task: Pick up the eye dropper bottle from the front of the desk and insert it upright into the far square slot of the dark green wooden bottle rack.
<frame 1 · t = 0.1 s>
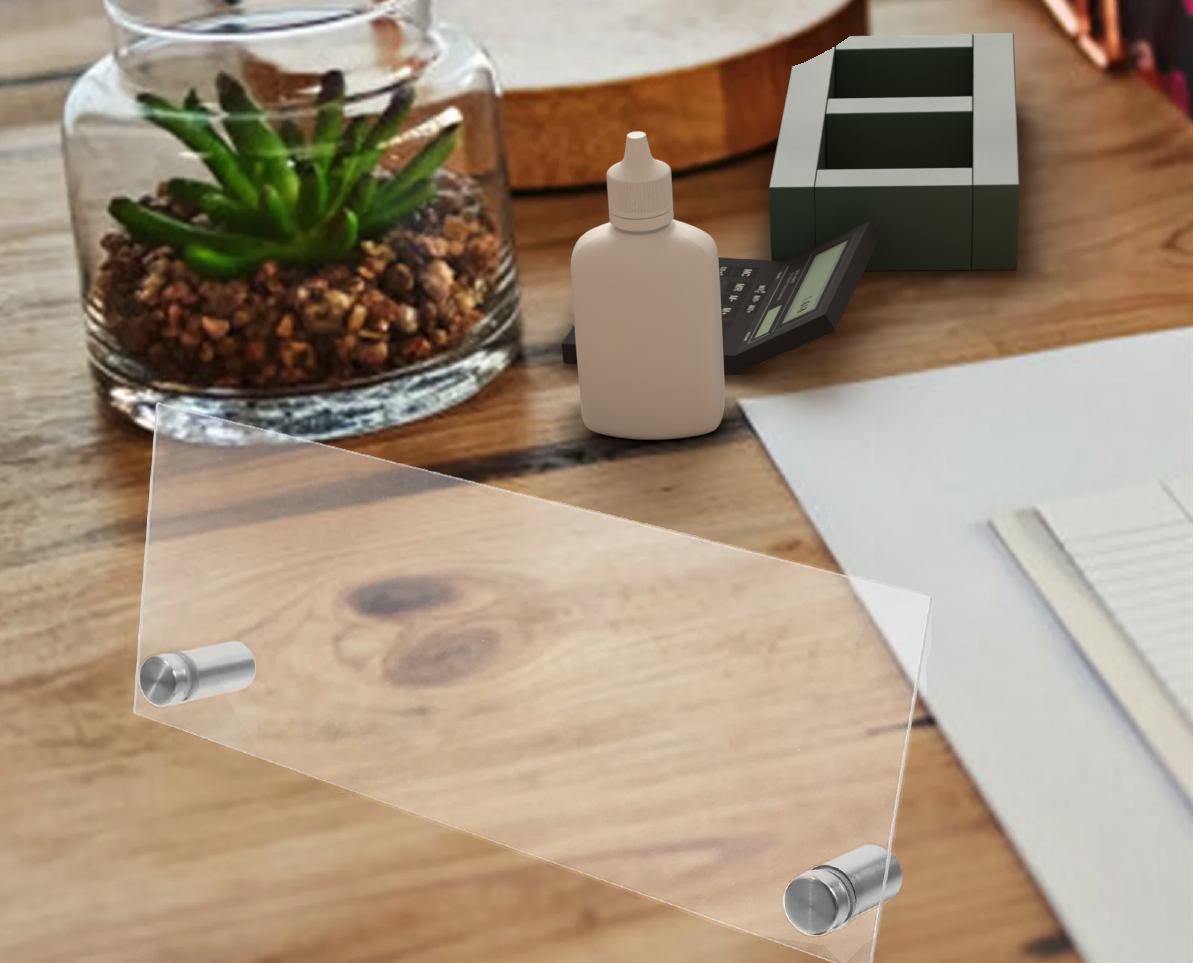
rack: (899, 184, 111), on the table
eye dropper bottle: (654, 426, 93), on the table
calculator: (725, 326, 100), on the table
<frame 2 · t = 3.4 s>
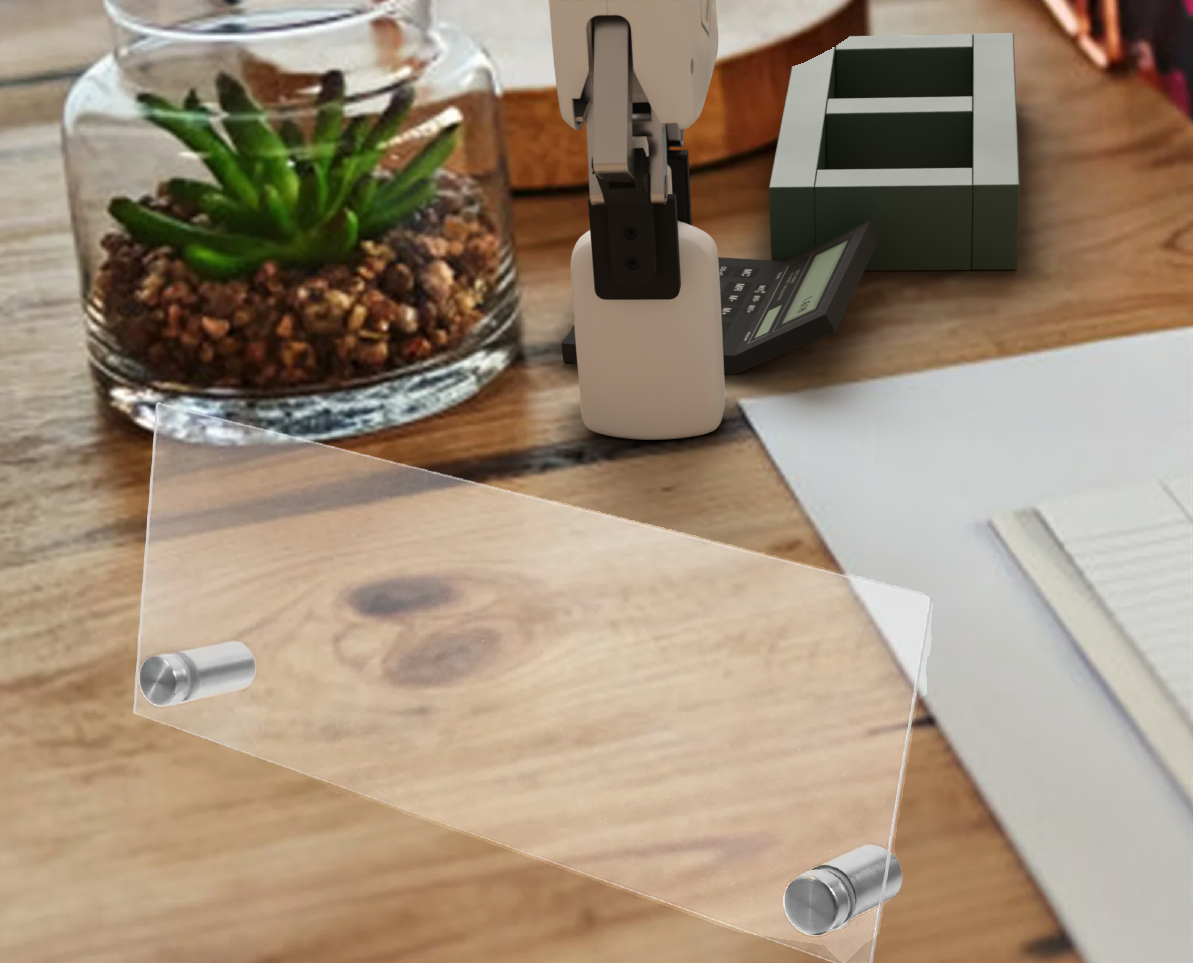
hand: (644, 268, 89), 7 cm above the table, tool pointing down, fingers closed on eye dropper bottle, 3 cm apart
eye dropper bottle: (654, 426, 93), on the table, touching gripper
everything else where it was.
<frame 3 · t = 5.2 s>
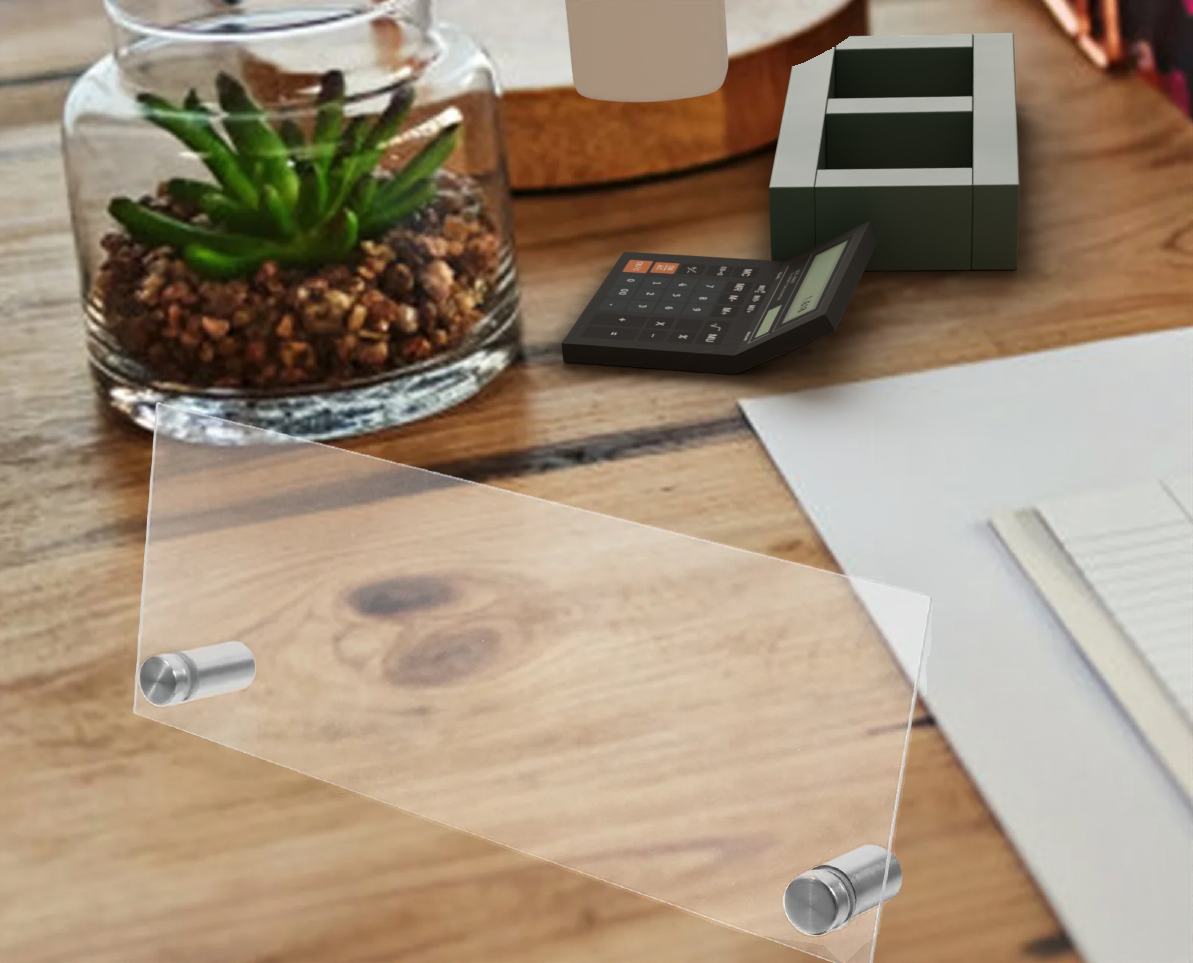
eye dropper bottle: (652, 92, 86), point 14 cm above the table, touching gripper
everything else where it was.
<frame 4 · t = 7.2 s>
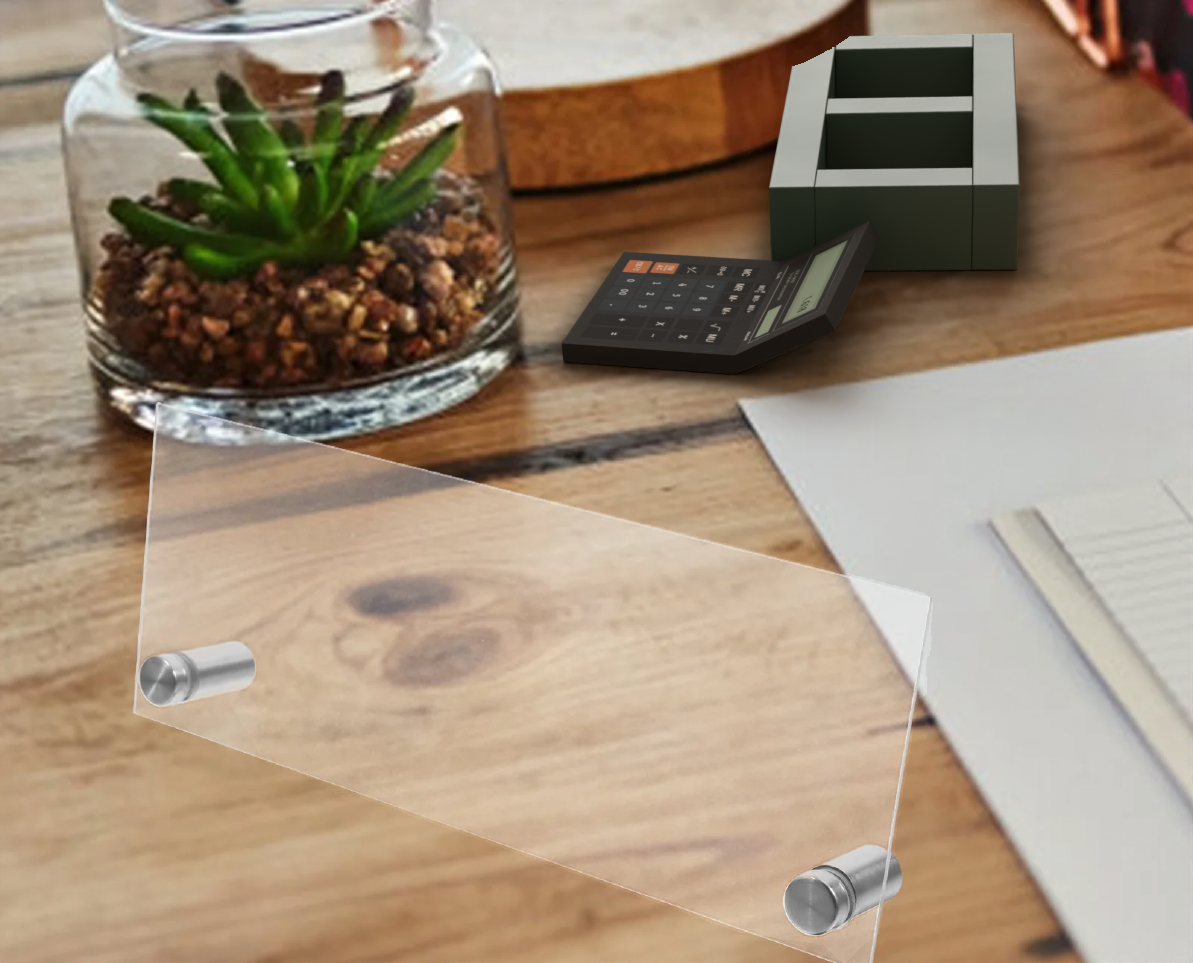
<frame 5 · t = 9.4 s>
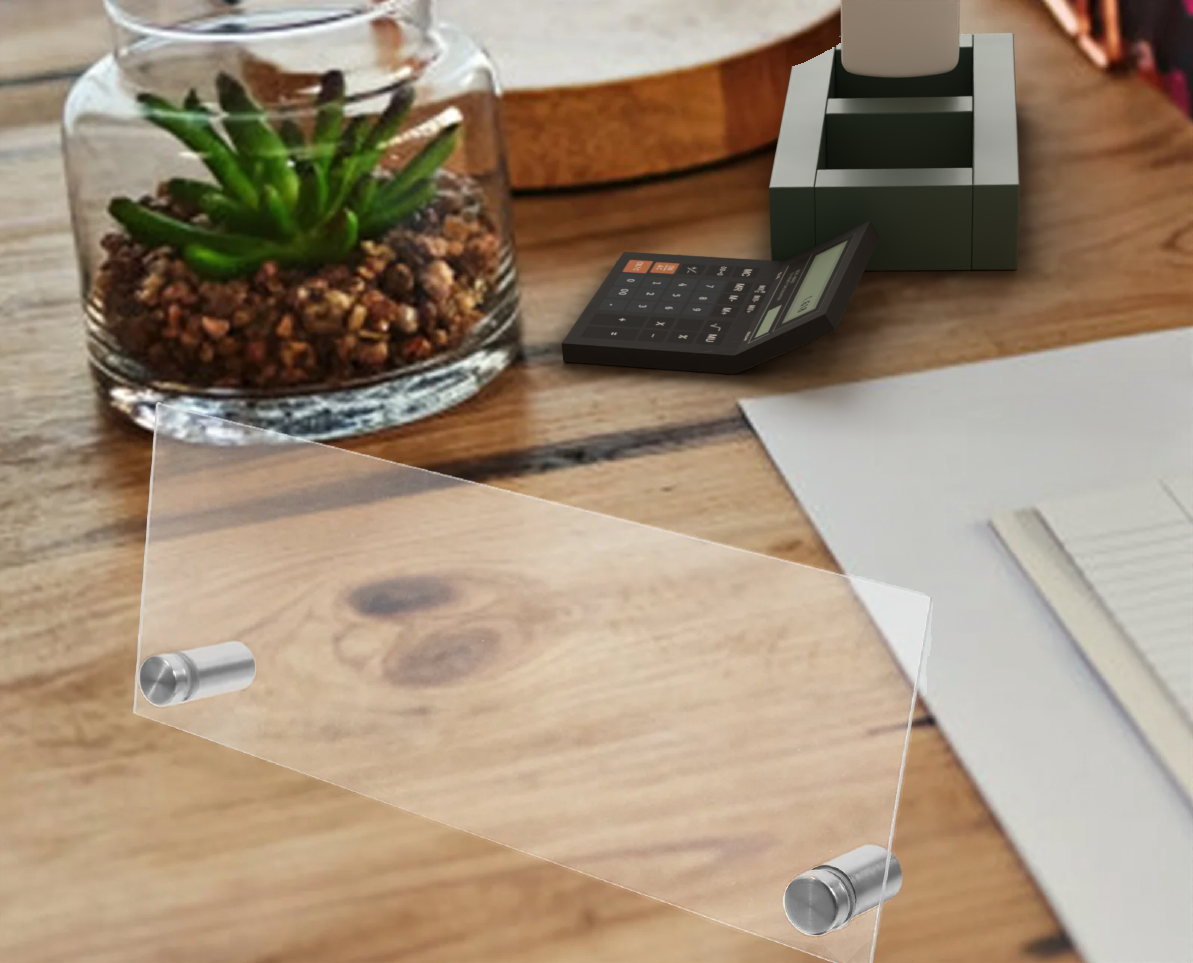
eye dropper bottle: (900, 70, 113), point 4 cm above the table, touching gripper
everything else where it was.
when the fingers open (7 cm above the table, at t = 10.9 s): eye dropper bottle stays where it is, resting in rack.
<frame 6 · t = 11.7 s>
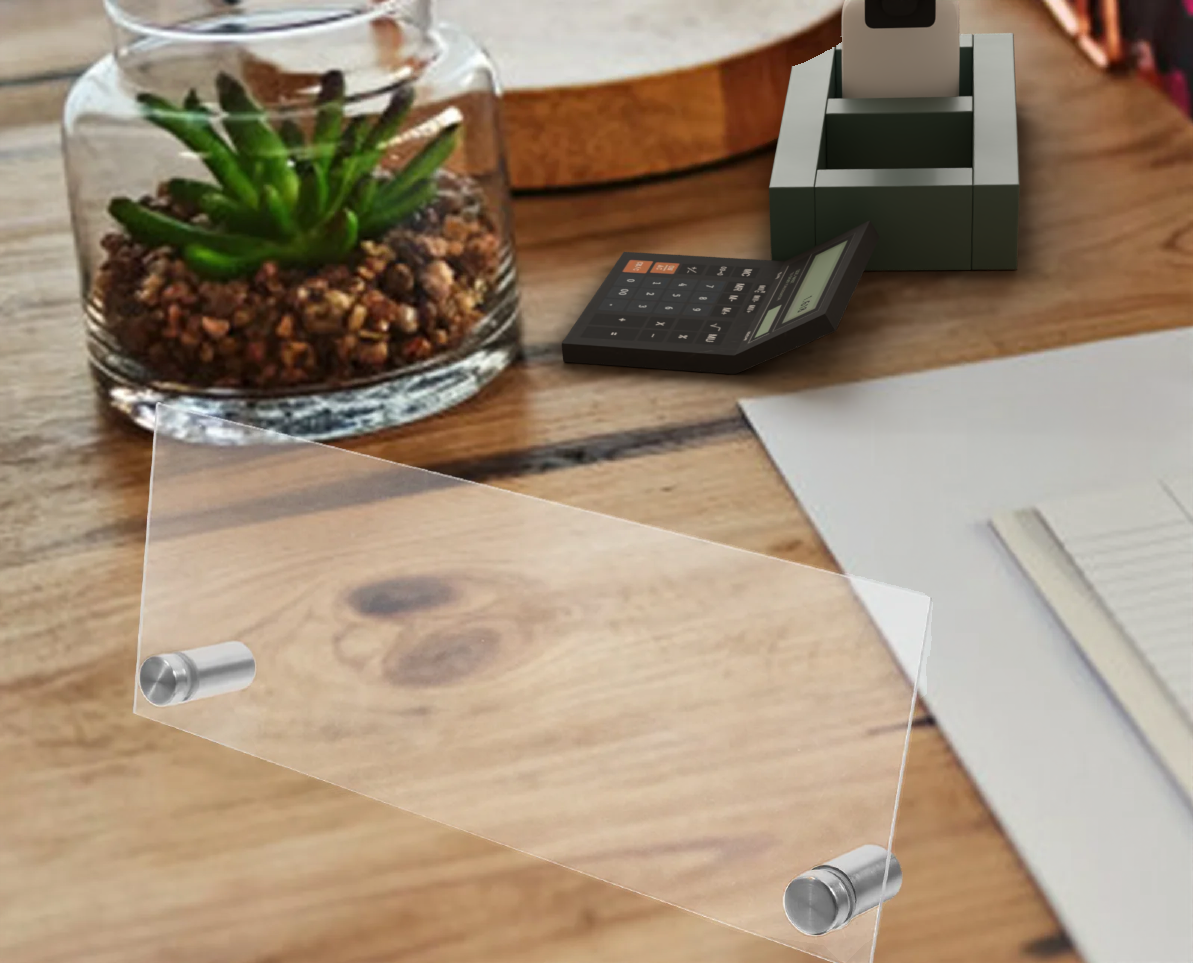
eye dropper bottle: (900, 154, 115), resting in rack
everything else where it was.
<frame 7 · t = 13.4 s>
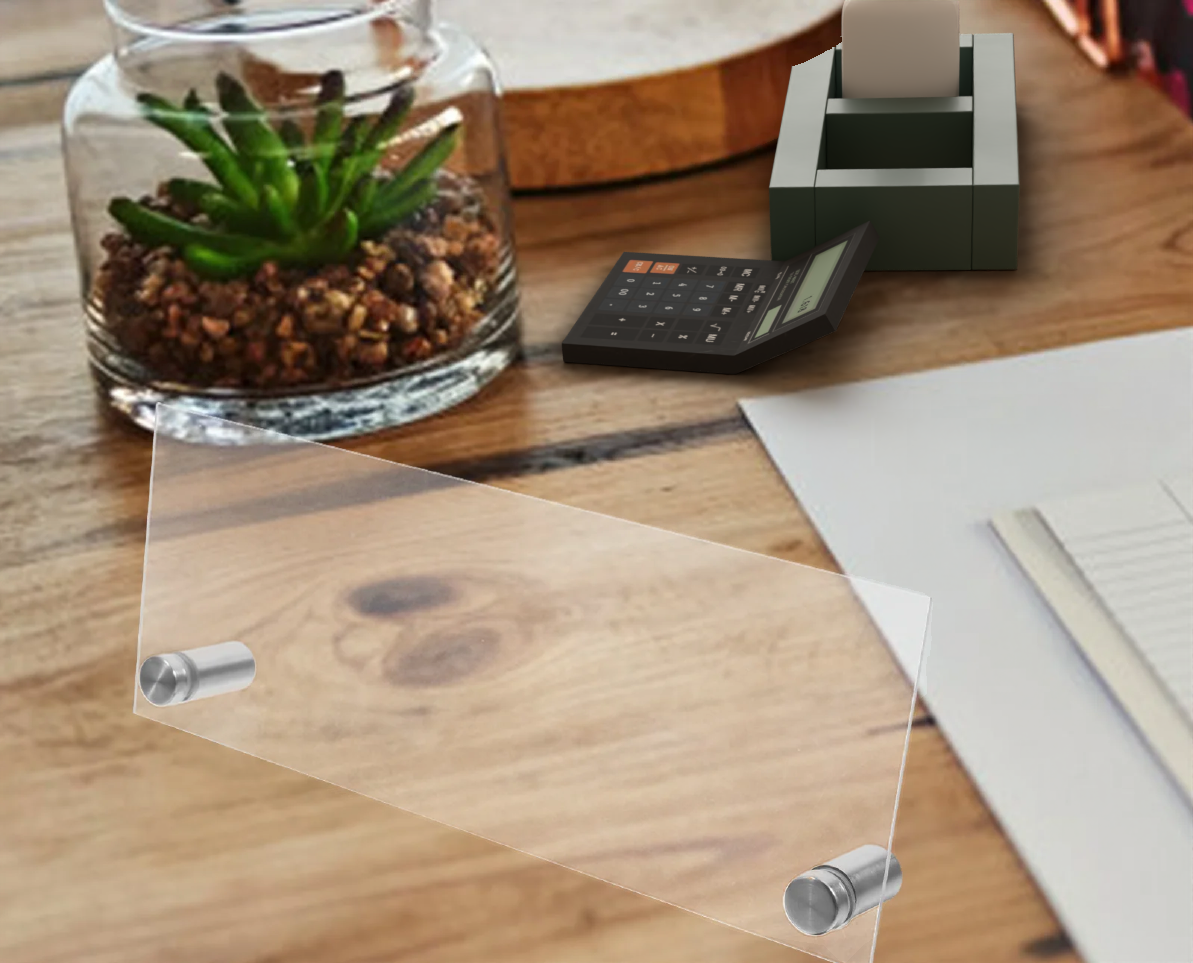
nothing on the table moved.
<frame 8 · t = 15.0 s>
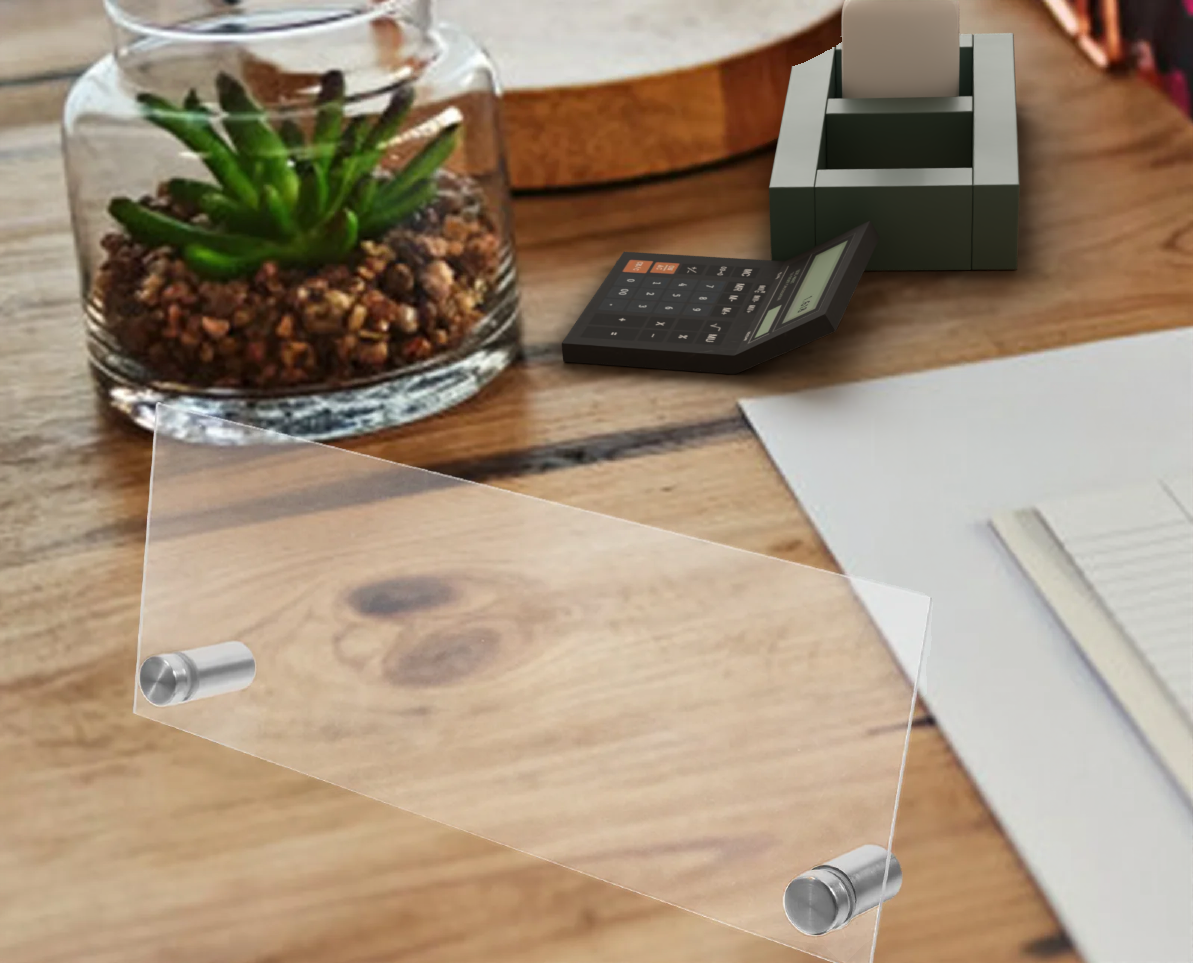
nothing on the table moved.
at the end: eye dropper bottle 0.1 cm from the target spot in the rack, point 0.0 cm above the rack's base; eye dropper bottle tilted 0° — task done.
